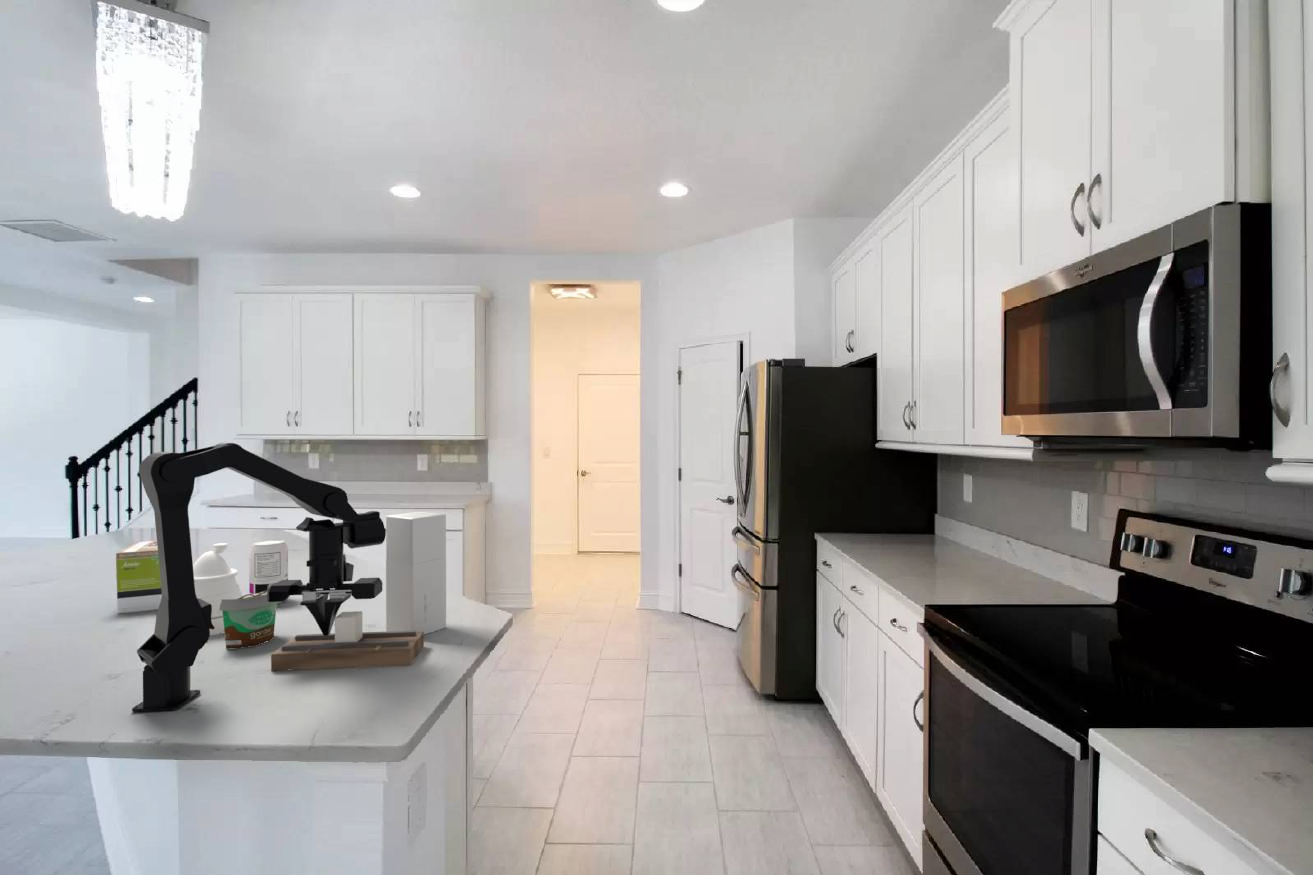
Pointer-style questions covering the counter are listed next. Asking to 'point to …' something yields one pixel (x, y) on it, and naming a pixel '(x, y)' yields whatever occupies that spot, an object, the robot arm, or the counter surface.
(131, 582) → the tea box
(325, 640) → the slider track
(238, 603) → the food container
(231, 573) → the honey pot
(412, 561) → the tall white carton
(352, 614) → the slider tab
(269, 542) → the supplement can
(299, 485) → the robot arm
